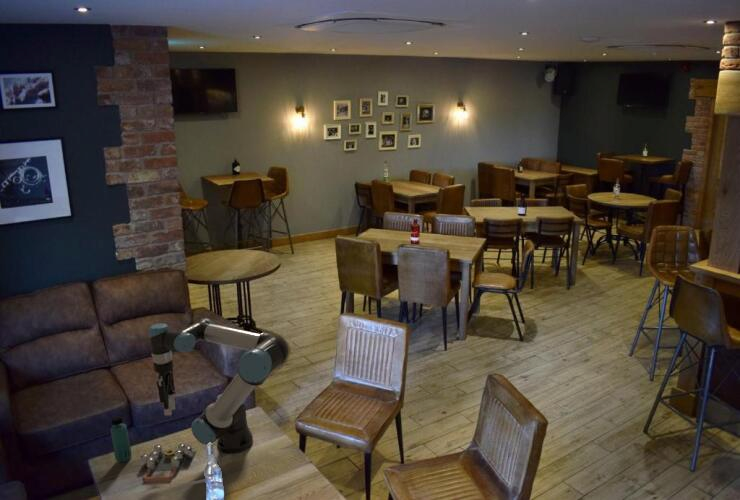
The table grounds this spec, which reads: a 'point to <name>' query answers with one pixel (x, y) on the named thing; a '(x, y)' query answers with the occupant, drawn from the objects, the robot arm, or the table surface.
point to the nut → (169, 454)
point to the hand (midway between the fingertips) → (170, 411)
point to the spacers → (158, 454)
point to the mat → (170, 464)
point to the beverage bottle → (120, 440)
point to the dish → (163, 478)
